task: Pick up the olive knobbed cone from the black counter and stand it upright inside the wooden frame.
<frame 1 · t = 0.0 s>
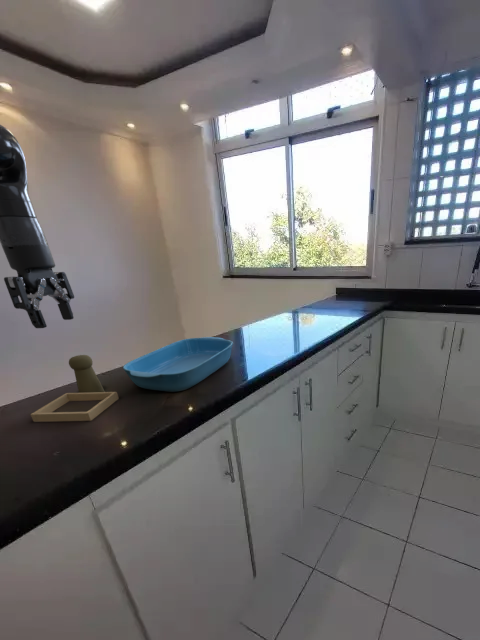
hand: (55, 323, 70), 21 cm above the table, tool pointing down, fingers open, 8 cm apart
wooden frame: (80, 412, 76), on the table
olive knobbed cone: (92, 394, 87), on the table
casserole dish: (187, 374, 98), on the table
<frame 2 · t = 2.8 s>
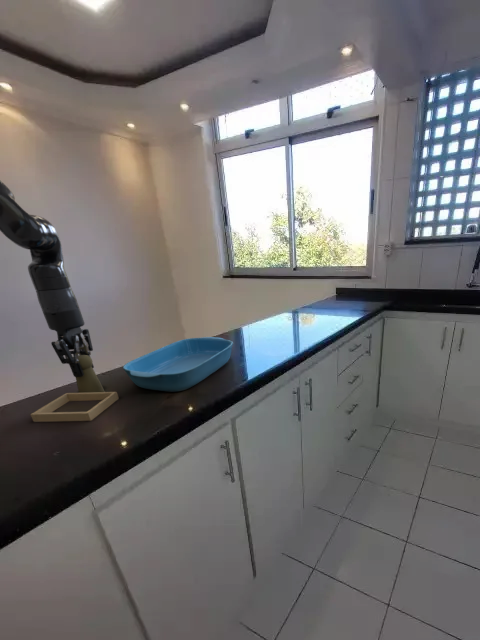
hand: (84, 372, 84), 6 cm above the table, tool pointing down, fingers closed on olive knobbed cone, 5 cm apart
olive knobbed cone: (92, 394, 87), on the table, touching gripper
everything else where it was.
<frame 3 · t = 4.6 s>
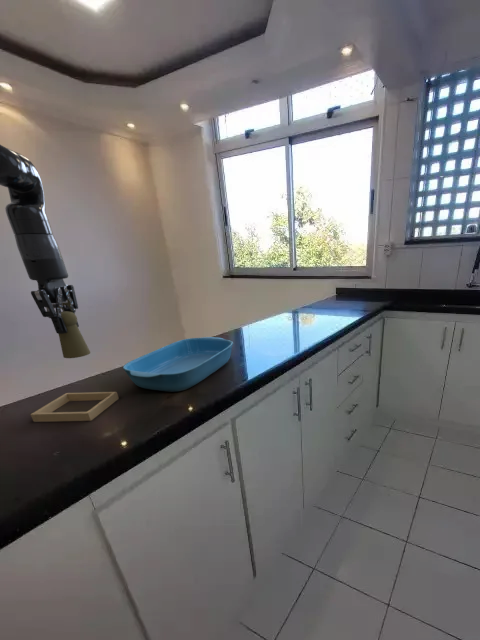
hand: (68, 330, 79), 18 cm above the table, tool pointing down, fingers closed on olive knobbed cone, 5 cm apart
olive knobbed cone: (77, 355, 81), point 11 cm above the table, touching gripper
everything else where it was.
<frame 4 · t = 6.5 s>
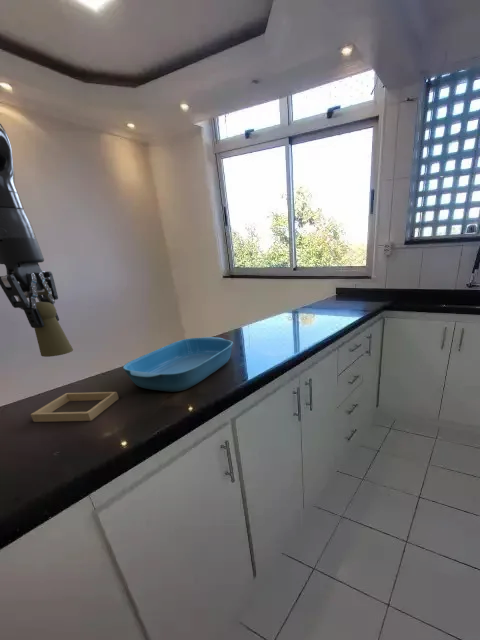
hand: (46, 324, 67), 22 cm above the table, tool pointing down, fingers closed on olive knobbed cone, 5 cm apart
olive knobbed cone: (57, 353, 70), point 15 cm above the table, touching gripper
everything else where it was.
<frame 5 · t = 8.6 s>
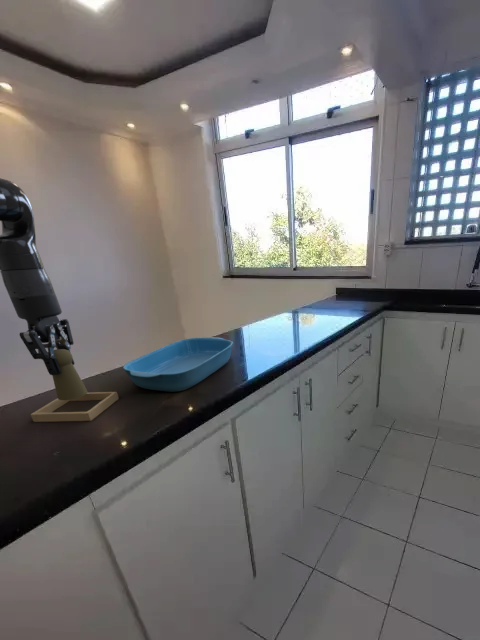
hand: (62, 369, 71), 11 cm above the table, tool pointing down, fingers closed on olive knobbed cone, 5 cm apart
olive knobbed cone: (73, 395, 74), point 5 cm above the table, touching gripper
everything else where it was.
when the fingers open (7 cm above the table, at t = 10.2 s): olive knobbed cone stays where it is, resting on wooden frame.
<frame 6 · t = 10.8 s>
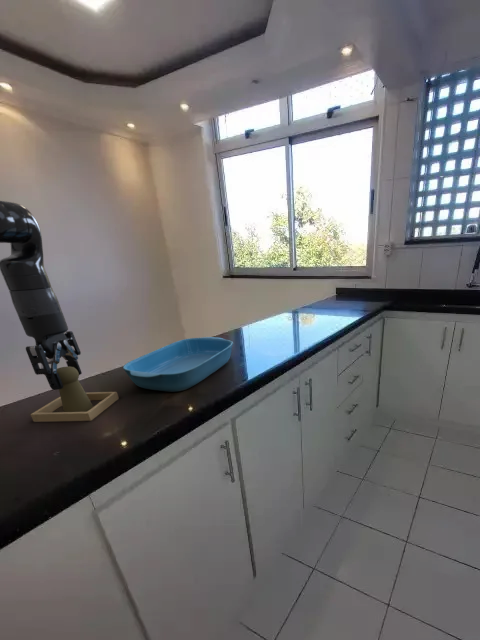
hand: (67, 381, 73), 8 cm above the table, tool pointing down, fingers open, 8 cm apart
olive knobbed cone: (79, 410, 76), resting on wooden frame
everything else where it was.
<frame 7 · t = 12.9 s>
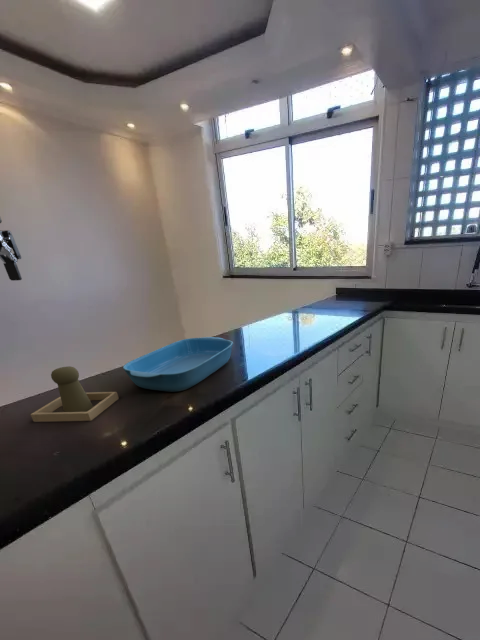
hand: (3, 282, 69), 30 cm above the table, tool pointing down, fingers open, 8 cm apart
nothing on the table moved.
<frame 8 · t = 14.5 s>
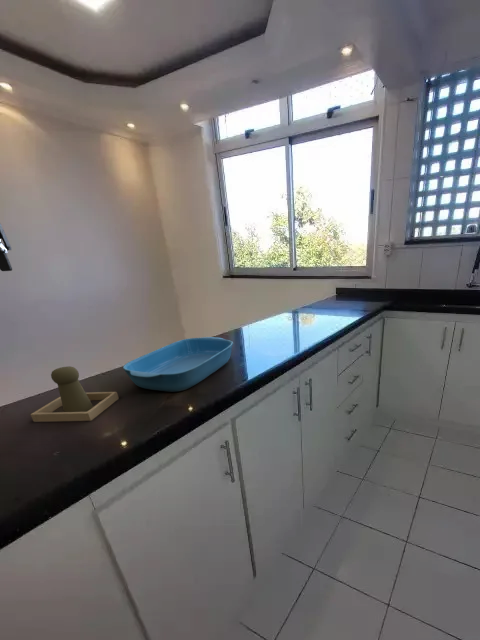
nothing on the table moved.
at the end: olive knobbed cone inside the target area in the wooden frame (0.1 cm from its centre), point 0.4 cm above the wooden frame's base; olive knobbed cone tilted 0°; the gripper is holding nothing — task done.
